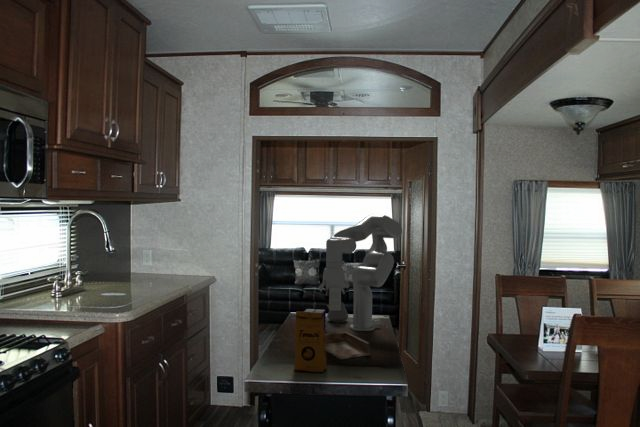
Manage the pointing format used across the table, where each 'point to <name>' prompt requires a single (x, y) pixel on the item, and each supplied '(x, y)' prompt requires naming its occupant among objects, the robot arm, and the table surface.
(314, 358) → the coffee package
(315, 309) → the puzzle cube
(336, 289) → the small box
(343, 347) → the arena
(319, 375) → the table surface
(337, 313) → the coffee pot
